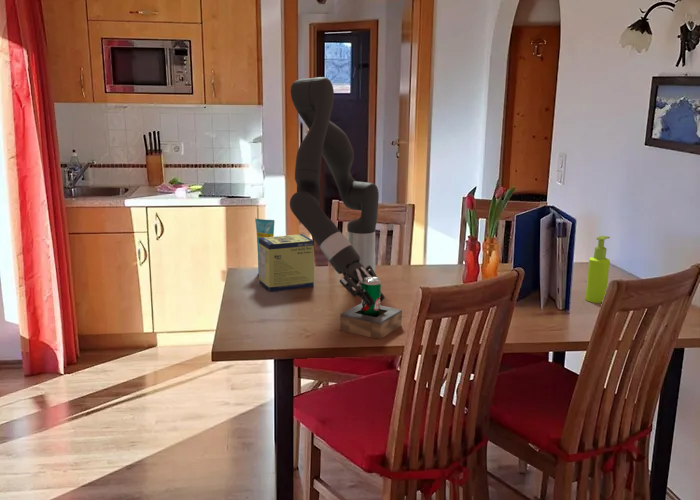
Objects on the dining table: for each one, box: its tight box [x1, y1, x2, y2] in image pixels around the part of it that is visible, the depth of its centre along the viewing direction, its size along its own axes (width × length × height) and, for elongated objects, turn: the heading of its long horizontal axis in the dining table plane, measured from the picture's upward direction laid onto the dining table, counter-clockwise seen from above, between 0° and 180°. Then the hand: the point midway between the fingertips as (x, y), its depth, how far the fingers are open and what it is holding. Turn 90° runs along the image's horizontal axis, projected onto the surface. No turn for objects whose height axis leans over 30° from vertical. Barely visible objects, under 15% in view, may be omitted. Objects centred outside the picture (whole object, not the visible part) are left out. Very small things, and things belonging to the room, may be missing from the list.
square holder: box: [339, 303, 403, 340], centre depth 184 cm, size 12×12×5 cm
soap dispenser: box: [584, 235, 611, 304], centre depth 209 cm, size 6×7×20 cm
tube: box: [254, 218, 275, 273], centre depth 233 cm, size 7×5×19 cm, turn 72°
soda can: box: [360, 276, 382, 317], centre depth 182 cm, size 5×5×12 cm
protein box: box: [258, 233, 315, 293], centre depth 221 cm, size 10×16×16 cm
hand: (377, 302), depth 182 cm, fingers closed on soda can, 4 cm apart
